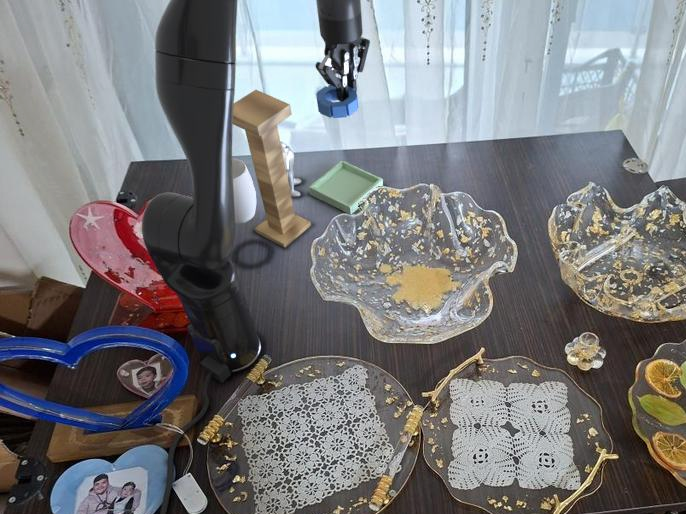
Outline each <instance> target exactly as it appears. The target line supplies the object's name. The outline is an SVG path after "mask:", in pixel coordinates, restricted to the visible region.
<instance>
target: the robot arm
mask: <svg viewBox="0 0 686 514" xmlns="http://www.w3.org/2000/svg"><path fill="white" fill-rule="evenodd" d="M238 1H239V0H169V2H168V4H167V5H166V7H165V9H164V11H163V13H162V16H161V17H160V20H159V23H158V25H157V28H156V32H155V37H154V49H155V51H154V54H155V55H154V59H155V60H154V61H155V64H154V65H155V66H154V67H155V89H156V90H155V91H156V95H157V99H158V102H159V104H160V106H161V109H162V111H163V113H164V114H163V115H164V116H165V118H166V120H167V123H168V124H169V125H170V128H171V130H172V132H173V134H174V135H175V137H176V139H177V142H178V143H179V145H180V148H181V149H182V151H183V153H184V155H185V158H186V161H187V164H188V167H189V171H190V178H191V184H192V196H189V195H185V194H181V193H177V192H172V191H171V192H170V191H168V192H162V193H159V194H157V195H156V196H154V197H153V198H151V200H150V201H149V202H148V203H147V204H146V207H145V208H144V211H143V214H142V219H141V234H142V239H143V242H144V246H145V248H146V251H147V253H148V255H149V257H150V259H151V261H152V262H153V264H154V266H155V268H156V270H157V271H158V273H159V275H160V277H161V279H162V280H163V282H164V283H165V285H166V286H167V287H168V288H169V289H170V290H171V291H172V292H174V293H175V294H176V295H177V298H178V300H179V301H180V304H181V306H182V309H183V310H184V312H185V315H186V317H187V319H188V322H189V323H190V324H189V325H187V327H186V330H187V331H188V333H189V335H190V338H191V340H192V342H193V344H194V346H195V349H196V351H197V353H198V355H199V357H200V359H201V361H200V362H199V363H200V366H201V368H202V370H203V372H204V373H206V374H207V375H206V377H205V380H204V382H203V384H202V388H201V398H202V400H203V405H202V408H201V410H200V412H199V413H198V414H197V415H196V416H195V417H193V419H191V420H190V421H189V422H188V423H187V424H186V425H184V426H183V427H182V428H181V429H182V430H183V431H184V432H185V433H187V432H188V431H189V430H190V429H191V428H192V427H194V426H195V425H196V424H197V423H198V422H200V421H201V419H202V418H203V417H204V416H205V414H206V413H207V411H208V408H209V406H210V399H209V397H208V393H207V392H208V387H209V385H210V382H211V381H212V379H215V380H216V381H218V382H219V383H221V384H223V383H224V382H225V381H226V380H227V379H228V378H229V377H230V376H231V375H232V374H235V373H240V372H242V371H245V370H246V369H248V368H250V367H251V366H253V365H254V364H255V363H256V362H257V360H258V359H259V357H260V355H261V352H262V343H261V340H260V337H259V335H258V331H257V329H256V327H255V323H254V321H253V317H252V314H251V311H250V308H249V305H248V302H247V299H246V296H245V292H244V290H243V286H242V284H241V280H240V278H239V274H238V271H237V269H236V267H235V264H234V263H233V262H232V261H231V259H229V258H230V257H231V254H232V251H233V248H234V242H235V236H236V223H235V206H234V190H233V172H232V158H233V128H234V127H233V126H234V125H233V107H234V103H235V95H236V94H235V92H236V71H237V23H238V21H237V19H238ZM315 1H316V9H317V18H318V19H317V20H318V26H319V34H320V37H321V38H322V40H323V42H324V51H323V54H324V58H322V61H321V62H319V61H317V62H316V63H315V66H314V67H315V69H316V70H317V72H318V73H319V74H320V75H321V77H322V79H323V80H324V82H325V83H326V84H327V85H331V86H334V87H336V93H337V99H338V100H337V101H338V102H343V101H344V100H346V99H347V98H348V86H349V87H351V88H354V89H355V90H356V92H357V93H358V88H357V87H358V86H357V79H358V77H359V73H363V71H364V68H365V65H366V60H367V56H368V52H369V49H370V44H371V40H370V39H367V38H365V37H364V36H363V31H364V30H363V19H362V18H363V17H362V16H363V15H362V1H361V0H315ZM182 436H183V435H182V434H181V433H179V431H178V432H177V433H176V435H174V438H173V440H172V442H171V443H170V447H169V451H168V454H167V462H166V463H167V464H166V467H167V469H166V482H165V488H164V493H163V497H162V502H161V507H160V512H159V514H167V511H168V506H169V501H170V497H171V491H172V486H173V481H174V480H173V479H174V458H175V451H176V448H177V446H178V443H179V441H180V440H181V438H182Z"/></svg>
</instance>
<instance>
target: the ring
mask: <svg viewBox="0 0 686 514" xmlns="http://www.w3.org/2000/svg"><path fill="white" fill-rule="evenodd" d="M357 93H358V91H357V92H356V90H355V89H354V88H351V87H349V86H348V98H347V99H346V100H344V101H343V102H340V101H339V100H338V99H337V93H336V87H334V86H331V85H329V84H327V85H325V86H324V87H322V88H321V89H319V90H317V92H316V93H315V95H316V103H317V104H316V105H317V110H318V113H320V115H322V116H324V117H326V118H330V119H331V118H332V119H341V118H347V117H350V116H351V115H353V114H354V113H356V112H357V111H358V109H359V98H358V94H357Z"/></svg>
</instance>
